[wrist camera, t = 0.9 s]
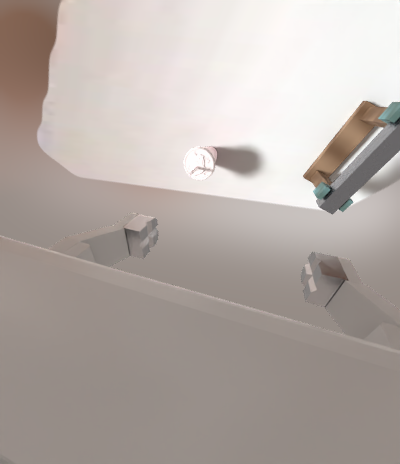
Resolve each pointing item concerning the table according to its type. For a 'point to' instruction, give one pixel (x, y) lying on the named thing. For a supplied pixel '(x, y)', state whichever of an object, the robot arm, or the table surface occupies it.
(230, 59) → the table surface
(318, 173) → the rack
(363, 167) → the rail
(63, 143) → the table surface
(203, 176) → the smoothie
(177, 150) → the table surface
